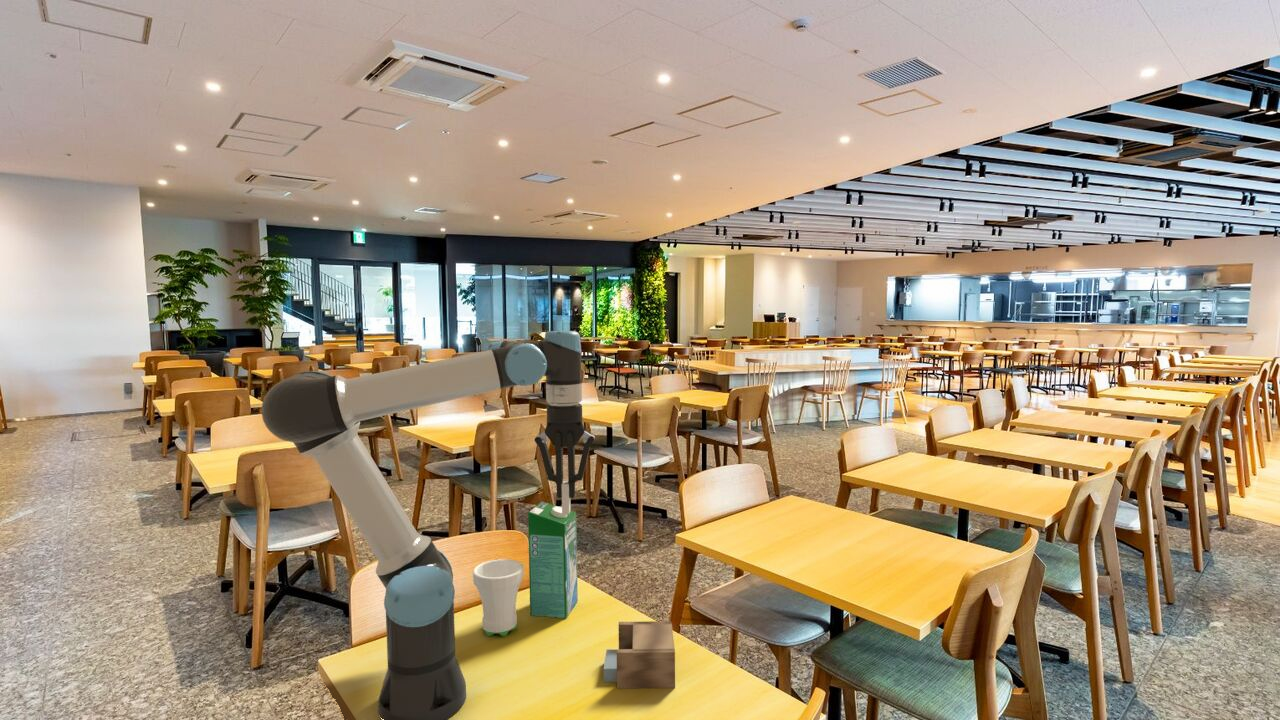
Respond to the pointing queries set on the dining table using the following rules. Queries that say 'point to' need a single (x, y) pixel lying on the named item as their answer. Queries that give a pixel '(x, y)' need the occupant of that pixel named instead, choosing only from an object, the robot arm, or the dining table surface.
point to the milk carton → (552, 561)
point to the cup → (498, 594)
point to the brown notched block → (646, 655)
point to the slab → (610, 666)
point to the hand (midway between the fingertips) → (566, 512)
